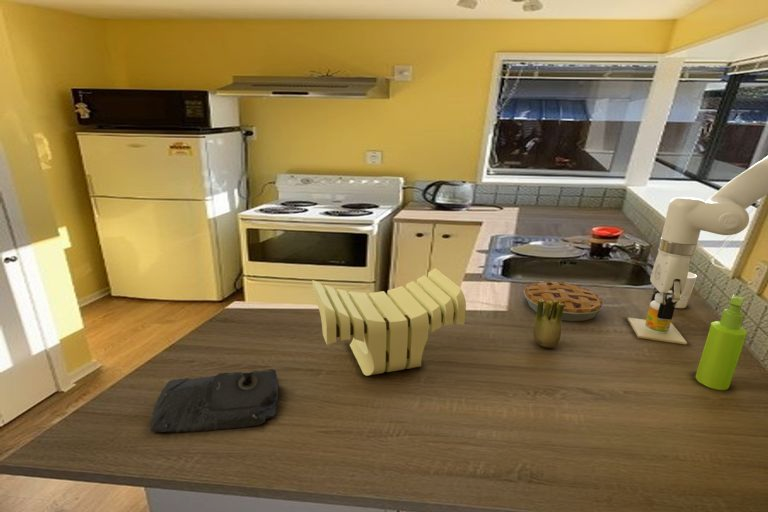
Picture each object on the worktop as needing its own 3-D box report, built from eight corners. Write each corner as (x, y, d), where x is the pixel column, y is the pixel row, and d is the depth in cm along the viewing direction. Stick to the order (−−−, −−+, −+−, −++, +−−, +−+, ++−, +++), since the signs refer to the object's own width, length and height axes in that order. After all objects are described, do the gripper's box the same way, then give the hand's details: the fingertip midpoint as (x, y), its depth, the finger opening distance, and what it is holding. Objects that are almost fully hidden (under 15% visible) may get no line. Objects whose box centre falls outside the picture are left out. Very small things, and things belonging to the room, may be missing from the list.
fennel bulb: (529, 343, 105) (536, 299, 101) (539, 337, 108) (546, 294, 105) (551, 353, 101) (559, 307, 97) (561, 346, 104) (569, 301, 100)
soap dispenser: (691, 383, 91) (717, 297, 85) (698, 370, 96) (723, 288, 89) (725, 395, 87) (755, 307, 81) (731, 382, 92) (759, 297, 85)
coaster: (671, 325, 117) (672, 323, 116) (686, 344, 107) (687, 342, 106) (627, 319, 119) (627, 317, 119) (638, 337, 109) (638, 335, 109)
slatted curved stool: (327, 390, 86) (326, 310, 80) (314, 350, 100) (312, 279, 94) (460, 366, 95) (467, 293, 89) (430, 332, 109) (435, 268, 103)
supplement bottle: (641, 323, 116) (649, 290, 113) (663, 326, 115) (672, 292, 112) (648, 332, 111) (656, 298, 108) (671, 335, 110) (680, 301, 107)
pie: (534, 322, 116) (536, 306, 114) (513, 291, 137) (515, 276, 135) (615, 325, 115) (618, 309, 114) (582, 293, 136) (585, 279, 135)
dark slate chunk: (170, 383, 86) (167, 363, 85) (281, 375, 90) (279, 355, 88) (143, 437, 72) (138, 414, 71) (275, 424, 76) (274, 402, 74)
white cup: (663, 296, 136) (670, 267, 132) (692, 304, 130) (700, 274, 127) (654, 302, 131) (661, 272, 128) (683, 311, 125) (692, 280, 122)
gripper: (649, 237, 114) (635, 298, 120) (671, 256, 99) (654, 325, 104) (681, 239, 112) (665, 302, 118) (709, 259, 97) (689, 330, 103)
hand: (660, 312), depth 111 cm, fingers closed on supplement bottle, 5 cm apart
